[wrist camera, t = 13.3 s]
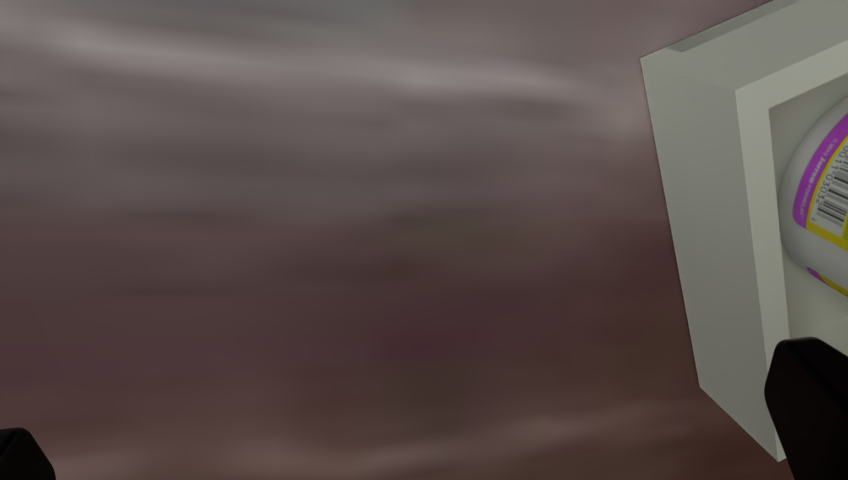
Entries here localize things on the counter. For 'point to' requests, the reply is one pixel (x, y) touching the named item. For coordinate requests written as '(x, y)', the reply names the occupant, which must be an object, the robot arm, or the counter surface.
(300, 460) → the counter surface
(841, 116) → the supplement bottle
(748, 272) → the tote
